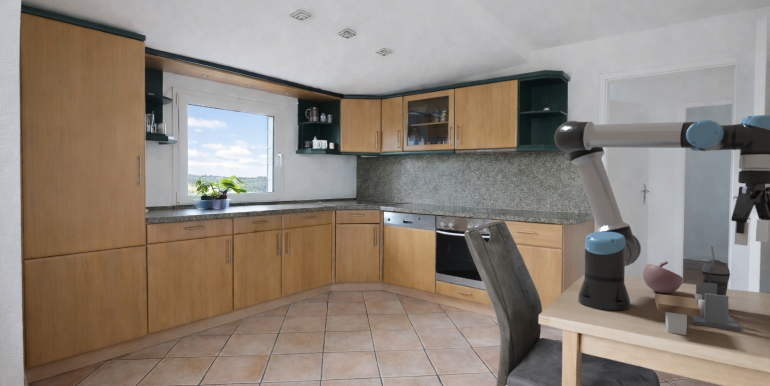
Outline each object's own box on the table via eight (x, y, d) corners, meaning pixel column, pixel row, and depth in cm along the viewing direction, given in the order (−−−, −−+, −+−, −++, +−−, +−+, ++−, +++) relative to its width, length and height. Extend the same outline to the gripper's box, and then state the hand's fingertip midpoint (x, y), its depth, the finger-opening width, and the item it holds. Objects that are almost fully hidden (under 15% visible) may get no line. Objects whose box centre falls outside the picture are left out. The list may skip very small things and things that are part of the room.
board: (657, 310, 108) (658, 303, 108) (654, 300, 117) (655, 293, 117) (700, 316, 103) (700, 309, 103) (693, 305, 113) (693, 298, 113)
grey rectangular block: (667, 332, 108) (668, 310, 108) (665, 324, 114) (665, 303, 114) (686, 335, 106) (686, 312, 106) (682, 326, 112) (683, 305, 112)
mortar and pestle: (690, 296, 142) (691, 264, 142) (663, 298, 139) (664, 265, 139) (660, 287, 154) (661, 257, 153) (634, 289, 151) (635, 259, 151)
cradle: (693, 324, 114) (694, 293, 114) (685, 307, 129) (686, 280, 129) (739, 331, 109) (740, 298, 109) (725, 313, 124) (726, 284, 124)
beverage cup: (734, 312, 124) (737, 248, 124) (708, 311, 126) (710, 248, 125) (720, 305, 132) (722, 245, 131) (695, 304, 133) (697, 244, 132)
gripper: (753, 169, 106) (748, 248, 107) (791, 170, 118) (786, 242, 119) (719, 169, 112) (715, 244, 114) (758, 170, 124) (754, 238, 125)
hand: (751, 243), depth 116 cm, fingers open, 13 cm apart
